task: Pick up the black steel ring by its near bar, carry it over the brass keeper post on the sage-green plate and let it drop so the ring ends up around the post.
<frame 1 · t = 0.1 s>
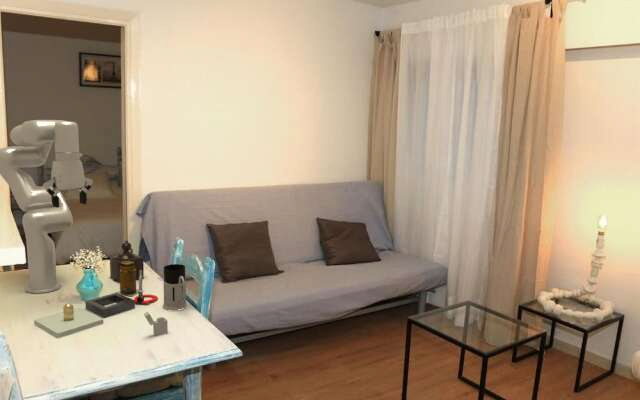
hand: (69, 205, 180), 37 cm above the table, tool pointing down, fingers open, 9 cm apart
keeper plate: (69, 323, 168), on the table
condiment: (129, 292, 199), on the table
dark brown piece: (129, 280, 213), on the table
glass holder: (177, 309, 184), on the table
steel ring: (110, 308, 182), on the table
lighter: (156, 335, 163), on the table
tow hook: (145, 301, 191), on the table
keeper post: (68, 319, 168), resting on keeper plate
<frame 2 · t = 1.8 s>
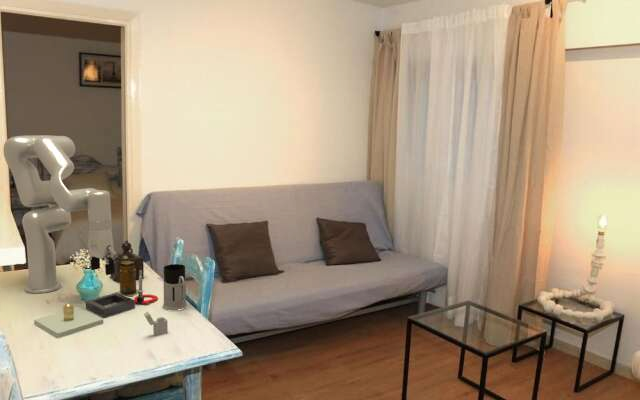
hand: (102, 271, 183), 13 cm above the table, tool pointing down, fingers open, 9 cm apart
nothing on the table moved.
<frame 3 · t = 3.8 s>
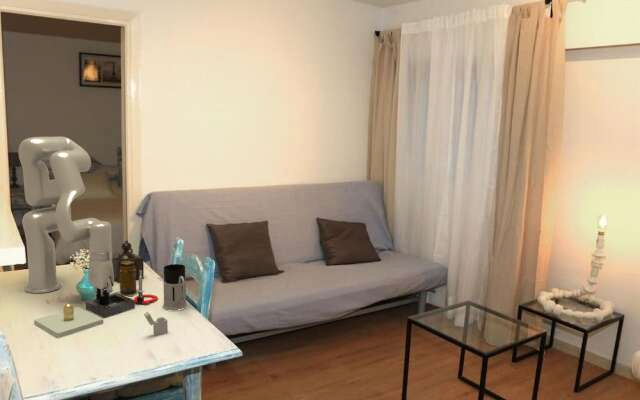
hand: (102, 304, 185), 0 cm above the table, tool pointing down, fingers closed on steel ring
steel ring: (110, 308, 182), on the table, touching gripper
everything else where it was.
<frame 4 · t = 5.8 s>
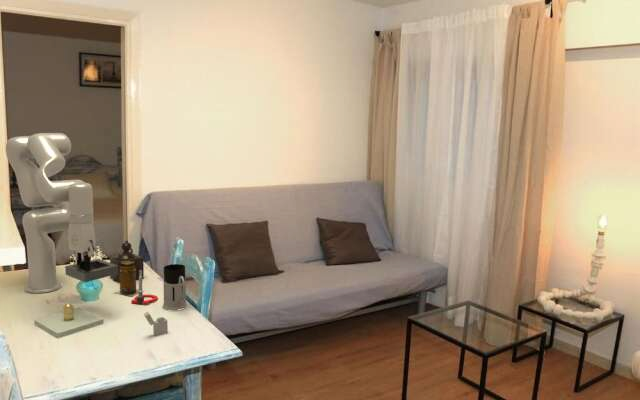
hand: (83, 270, 177), 15 cm above the table, tool pointing down, fingers closed on steel ring
steel ring: (92, 274, 174), point 15 cm above the table, touching gripper
everything else where it was.
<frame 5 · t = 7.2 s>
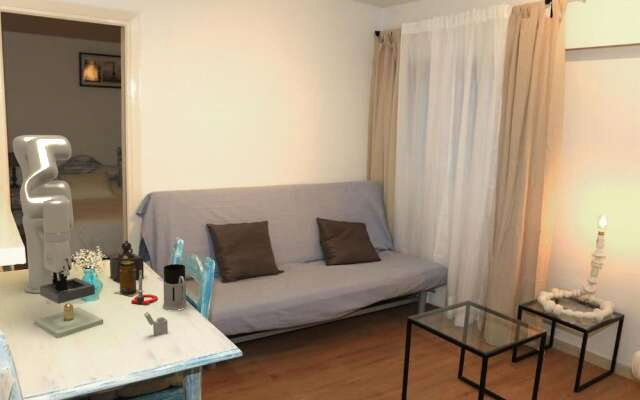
hand: (60, 289, 169), 11 cm above the table, tool pointing down, fingers closed on steel ring
steel ring: (67, 294, 166), point 10 cm above the table, touching gripper
everything else where it was.
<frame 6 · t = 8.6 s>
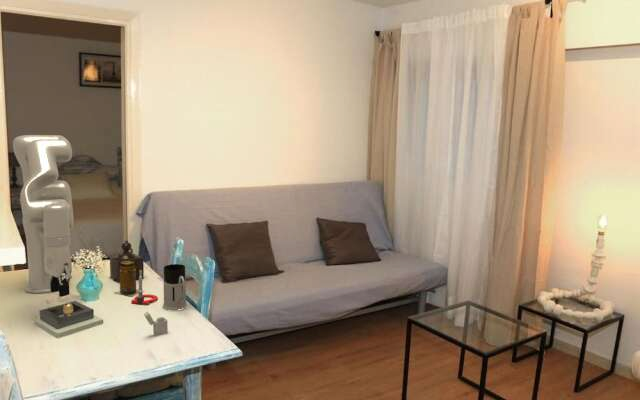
hand: (60, 293, 170), 9 cm above the table, tool pointing down, fingers open, 4 cm apart
steel ring: (67, 318, 169), point 1 cm above the table, touching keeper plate
everything else where it was.
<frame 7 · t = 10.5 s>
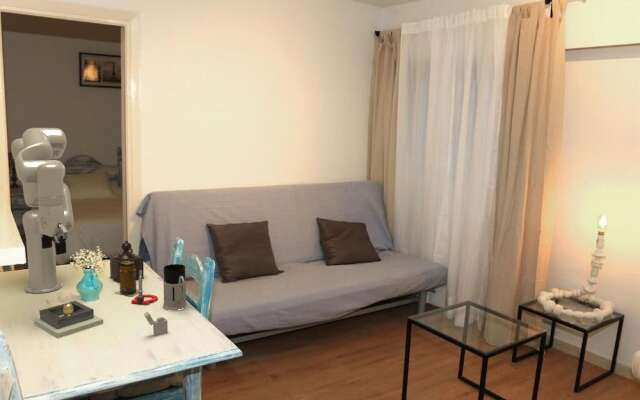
hand: (54, 250, 170), 23 cm above the table, tool pointing down, fingers open, 9 cm apart
nothing on the table moved.
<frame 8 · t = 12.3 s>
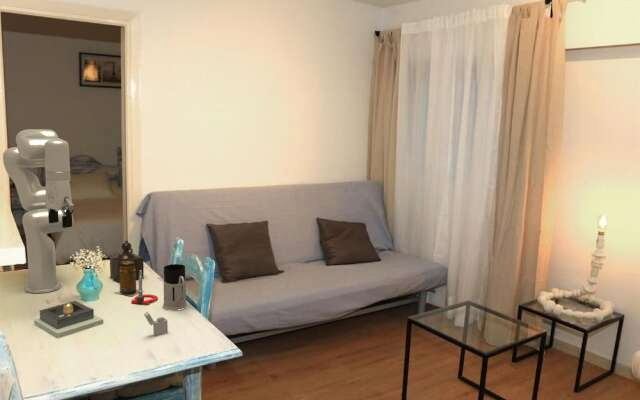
hand: (60, 224, 177), 30 cm above the table, tool pointing down, fingers open, 9 cm apart
nothing on the table moved.
at the end: steel ring 1.1 cm from the keeper post (horizontally); steel ring point 1.5 cm above the table; the gripper is holding nothing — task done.
